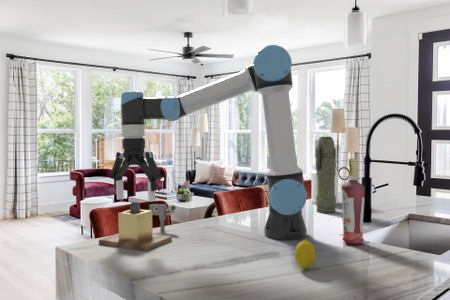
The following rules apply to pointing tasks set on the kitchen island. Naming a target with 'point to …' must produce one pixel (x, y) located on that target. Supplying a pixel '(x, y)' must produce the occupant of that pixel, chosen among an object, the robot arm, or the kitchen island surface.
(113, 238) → the wooden base with rod
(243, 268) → the kitchen island surface
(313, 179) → the bottle
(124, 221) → the hollow square tube
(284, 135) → the robot arm
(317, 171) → the thermos
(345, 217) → the liquor
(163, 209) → the mechanical component
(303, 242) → the lemon
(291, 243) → the kitchen island surface
